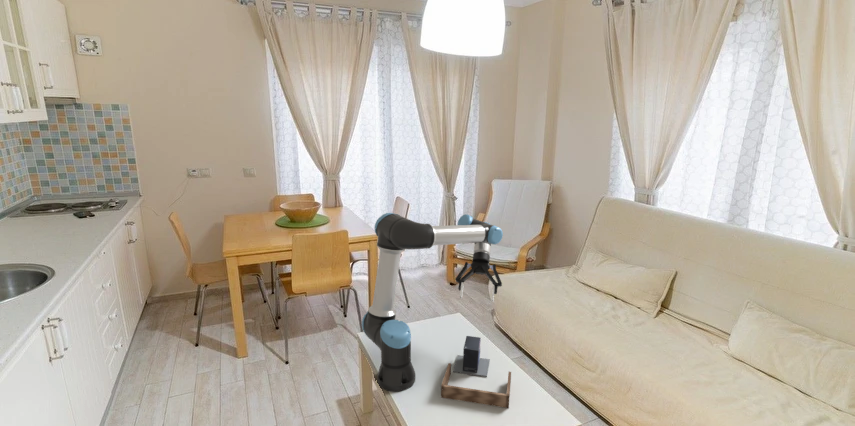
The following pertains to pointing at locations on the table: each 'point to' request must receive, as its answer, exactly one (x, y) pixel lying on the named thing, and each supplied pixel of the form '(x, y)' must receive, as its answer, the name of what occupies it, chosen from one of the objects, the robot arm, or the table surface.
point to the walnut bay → (474, 393)
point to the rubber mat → (481, 372)
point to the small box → (471, 354)
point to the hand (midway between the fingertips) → (476, 299)
